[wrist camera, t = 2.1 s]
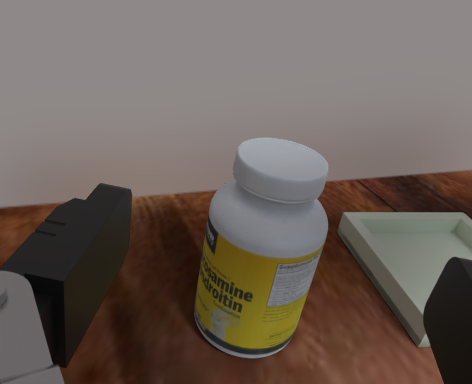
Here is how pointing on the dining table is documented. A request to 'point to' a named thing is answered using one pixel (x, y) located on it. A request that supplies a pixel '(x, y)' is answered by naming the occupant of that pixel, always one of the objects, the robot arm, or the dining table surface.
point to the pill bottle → (261, 248)
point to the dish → (406, 256)
